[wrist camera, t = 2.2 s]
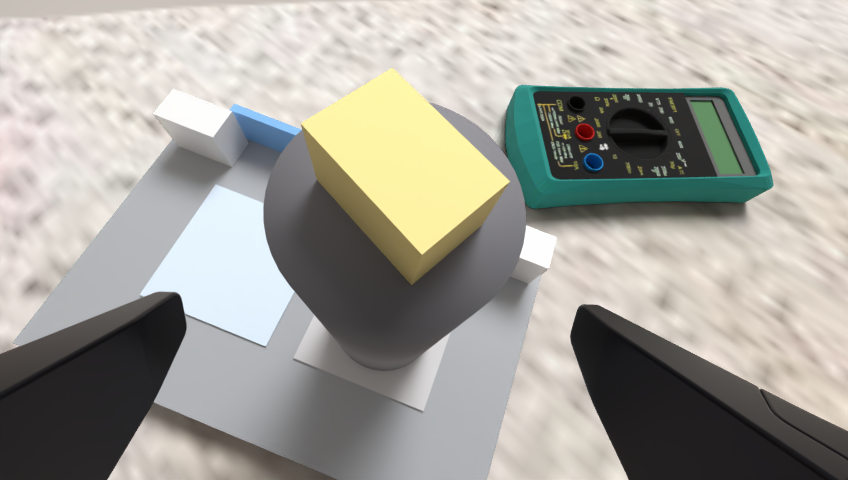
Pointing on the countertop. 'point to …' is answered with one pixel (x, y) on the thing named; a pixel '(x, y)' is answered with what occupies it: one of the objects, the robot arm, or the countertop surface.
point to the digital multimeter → (632, 146)
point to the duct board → (287, 319)
